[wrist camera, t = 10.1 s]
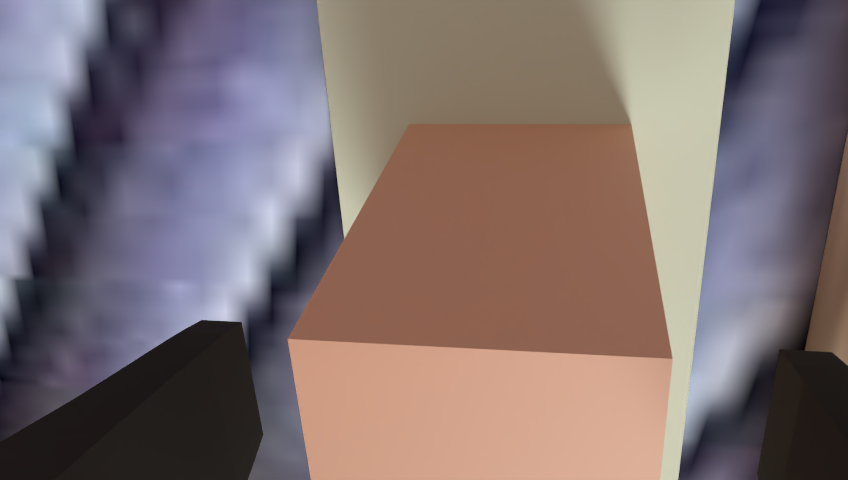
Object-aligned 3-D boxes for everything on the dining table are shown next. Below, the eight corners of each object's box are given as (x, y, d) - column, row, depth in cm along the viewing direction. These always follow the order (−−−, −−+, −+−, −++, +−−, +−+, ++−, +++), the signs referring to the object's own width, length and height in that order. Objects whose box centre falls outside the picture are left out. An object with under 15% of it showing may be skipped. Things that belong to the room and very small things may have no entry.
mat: (669, 526, 19) (670, 539, 18) (380, 500, 20) (376, 512, 19) (763, -282, 11) (768, -286, 11) (296, -242, 13) (287, -243, 12)
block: (619, 315, 16) (644, 627, 10) (422, 307, 16) (329, 591, 10) (631, 123, 14) (672, 359, 8) (409, 124, 15) (287, 339, 9)
